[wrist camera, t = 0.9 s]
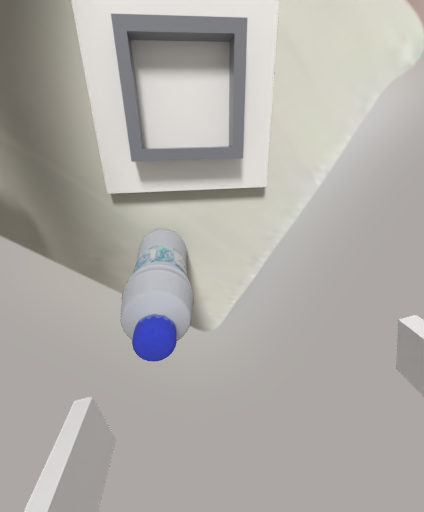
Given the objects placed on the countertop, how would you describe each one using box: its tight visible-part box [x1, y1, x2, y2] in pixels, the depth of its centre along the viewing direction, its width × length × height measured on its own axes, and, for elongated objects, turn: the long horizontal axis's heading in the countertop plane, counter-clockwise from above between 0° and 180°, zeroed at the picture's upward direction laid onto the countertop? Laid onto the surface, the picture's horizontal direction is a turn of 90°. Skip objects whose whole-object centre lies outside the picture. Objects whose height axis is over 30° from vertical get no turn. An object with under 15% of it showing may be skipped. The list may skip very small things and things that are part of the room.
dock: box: [71, 0, 279, 194], centre depth 28 cm, size 20×20×4 cm
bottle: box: [121, 229, 193, 361], centre depth 28 cm, size 7×7×20 cm
